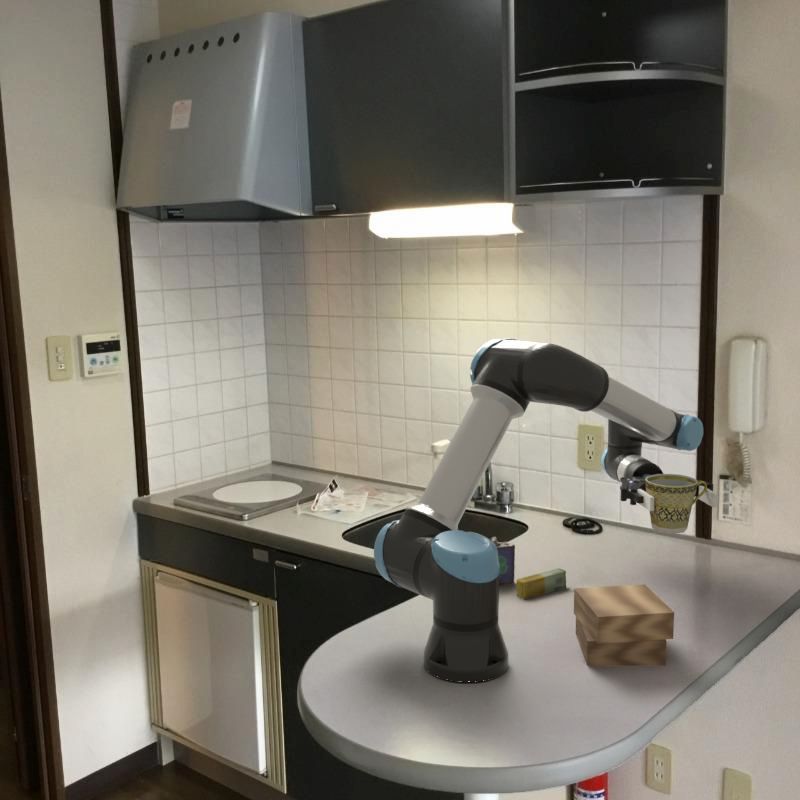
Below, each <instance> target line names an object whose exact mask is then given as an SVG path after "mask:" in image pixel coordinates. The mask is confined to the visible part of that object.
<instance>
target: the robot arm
mask: <svg viewBox="0 0 800 800" xmlns="http://www.w3.org/2000/svg"><path fill="white" fill-rule="evenodd" d="M470 370H471V373H470V374H469V376H470V381H471V384H472V385H471V387H470V388H469V389H470V393H471V395H472V401H471V403H470V405H469V407H468V408H467V410H466V412H465V414H464V416H463V418H462V419H461V421H460V424H459V426H458V427H457V429H456V431H455V433H454V434H453V436H452V438H451V440H450V443H449V444H448V447H447V448H446V449H445V451H444V454H443V455H442V458H441V459H440V461H439V463H438V465H437V466H436V469H435V470H434V473H433V475H432V477H431V478H430V480H429V482H428V484H427V485H426V488H425V490H424V492H423V493H422V496H421V497H420V499H419V501H418V502H417V504H415V505H411V506H408V507H406V509H405V510H404V512H403V514H402V516H401V517H400V519H398V520H392V521H391V522H389V523H386V524H385V525H384V526H383V527H382V528H381V529H380V530H379V532H378V534H377V536H376V539H375V542H374V547H373V558H374V560H375V565H374V566H375V567H376V569H377V571H378V573H379V575H380V576H382V578H383V579H385V580H386V581H388V582H390V583H392V584H393V585H395V586H396V587H398V588H400V589H406V590H408V591H410V592H412V593H415V594H417V595H420V596H423V597H424V598H427V599H430V600H432V608H433V609H432V616H433V618H432V619H433V621H432V627H431V629H430V632H429V636H428V639H427V641H426V645H425V647H424V650H423V666H424V668H425V670H426V669H427V670H428V671H429V672H430V673H431V674H430V673H429V672H428V671H427V670H426V671H427V672H428V673H429V674H430V675H432V674H433V675H432V676H434V675H435V676H434V677H436V676H438V677H440V678H443V679H442V680H444V679H448V680H452V681H451V682H453V681H462V682H468V681H470V682H474V683H476V682H475V681H482V682H484V681H483V680H487V681H489V680H488V679H491V680H493V679H492V678H494V679H496V678H498V677H500V676H501V674H502V675H503V674H504V673H505V672H506V671H507V670H508V667H509V652H508V648H507V646H506V643H505V639H504V637H503V633H502V631H501V628H500V624H499V609H500V607H499V602H500V601H499V599H500V596H499V595H500V585H499V571H500V569H499V567H500V565H499V562H498V551H497V548H496V546H495V544H494V543H493V542H492V539H490V538H488V537H486V536H484V535H483V534H480V533H479V532H478V533H477V532H474V531H464V530H459V528H458V527H459V523H460V521H461V519H462V517H463V516H464V514H465V511H466V510H467V507H468V505H469V504H470V501H471V500H472V498H473V495H474V494H475V492H476V490H477V488H478V486H479V485H480V482H481V480H482V478H483V476H484V475H485V472H486V470H487V469H488V467H489V465H490V463H491V461H492V459H493V457H494V456H495V454H496V452H497V449H498V447H499V446H500V444H501V443H502V440H503V438H504V435H506V432H507V430H508V428H509V426H510V424H511V423H512V421H513V420H514V419H517V418H521V417H523V416H524V414H525V412H526V410H527V408H528V407H529V405H530V403H531V402H532V403H538V404H545V405H546V404H547V405H555V406H561V407H562V406H563V407H567V408H571V409H574V410H577V411H579V412H582V413H583V412H585V413H586V412H587V413H588V412H593V413H595V414H597V415H599V416H602V417H603V418H606V419H607V425H608V426H607V428H608V429H607V447H606V449H605V450H604V451H603V454H602V455H601V459H600V463H601V464H600V465H601V467H602V469H603V471H604V473H606V474H607V475H608V476H609V477H610V478H611V479H612V480H614V481H617V482H618V483H619V490H620V501H621V502H627V500H629V504H630V505H631V506H636V505H637V504H639V505H641V506H642V507H643V508H645V509H646V510H648V511H649V512H650V511H654V497H653V496H651V495H649V494H647V492H646V485H645V478H646V477H648V476H651V475H656V474H664V472H663V470H662V469H661V467H660V466H659V465H657V464H655V463H654V462H652V461H651V460H648V459H647V458H645V457H643V456H642V450H643V449H642V448H643V444H648V445H653V446H660V447H664V448H668V449H675V450H678V451H688V452H692V451H694V450H696V449H697V448H698V447H699V446H700V445H701V442H702V441H703V440H702V439H703V436H704V426H703V425H704V424H703V423H702V421H701V419H700V418H698V417H697V416H693V415H690V414H687V413H686V414H682V413H678V412H676V411H674V410H673V409H670V408H668V407H666V406H665V405H663V404H661V403H659V402H657V401H655V400H653V399H652V398H649V397H648V396H645V395H644V394H642V393H640V392H639V391H636V390H635V389H633V388H631V387H629V386H627V385H625V384H624V383H622V382H620V381H617V379H614V378H612V377H610V376H609V374H608V371H607V370H606V369H605V368H604V367H602V366H601V365H600V364H598V363H596V362H594V361H593V360H590V359H588V358H586V357H585V356H583V355H581V354H579V353H577V352H575V351H573V350H570V349H569V348H566V347H564V346H561V345H558V344H554V343H548V342H540V341H539V342H537V341H530V340H529V341H527V340H518V339H515V338H495V339H491V340H489V341H487V342H485V343H484V344H482V346H481V347H479V348H478V350H477V351H476V352H475V354H474V356H473V357H472V360H471V362H470ZM704 482H705V483H706V484H707V490H706V492H705V493H704V494H703V495H702V496H701V497H700V498H699V499H698V500H699V501H701V502H703V503H705V504H706V505H708V506H710V507H711V508H718V495H719V494H718V493H716V492H715V491H714V484H713V483H709V482H707V481H706V480H705V481H704ZM703 490H704V484H703V483H701V484H699V485H697V490H696V494H695V498H696V497H697V496H698V495H699V494H700V493H701V492H702V491H703ZM497 676H498V677H497ZM438 677H437V678H438ZM495 677H496V678H495ZM440 678H439V679H440Z"/></svg>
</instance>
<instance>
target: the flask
mask: <svg viewBox="0 0 800 800" xmlns="http://www.w3.org/2000/svg"><path fill="white" fill-rule="evenodd" d="M489 539H490V540H491V541H492V542H493V543H494V544H495V546H496V548H497V551H498V562H499V565H500V567H499V569H500V571H499V586H507V585H513V584H515V568H516V567H515V566H516V565H515V562H516V561H515V559H516V557H515V556H516V552H515V550H516V545H515V544H514V543H512V542H508V541H503V542H502V541H501V542H499V541H498V540H497V539H498V538H497V537H496V536H492V537H490V538H489Z"/></svg>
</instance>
